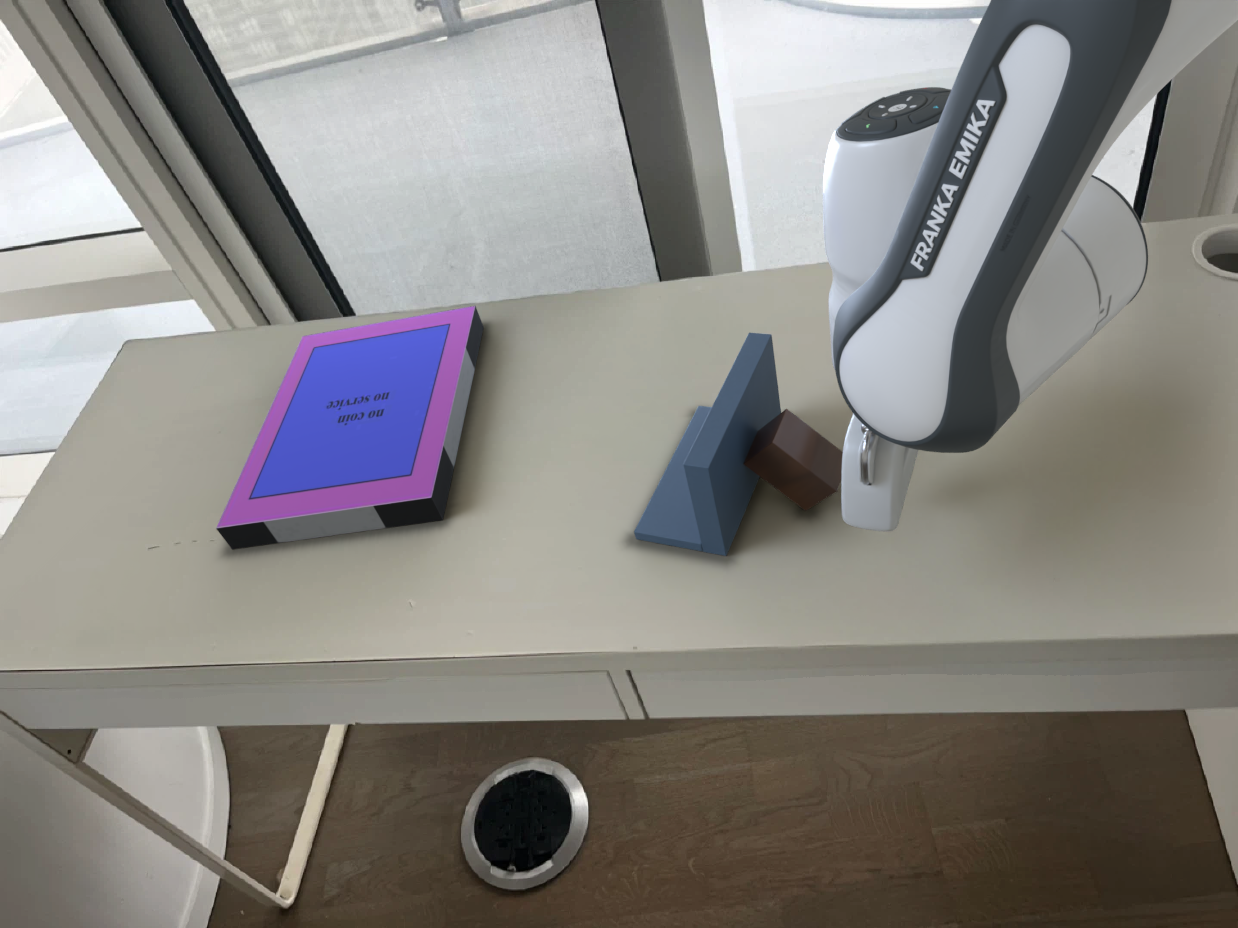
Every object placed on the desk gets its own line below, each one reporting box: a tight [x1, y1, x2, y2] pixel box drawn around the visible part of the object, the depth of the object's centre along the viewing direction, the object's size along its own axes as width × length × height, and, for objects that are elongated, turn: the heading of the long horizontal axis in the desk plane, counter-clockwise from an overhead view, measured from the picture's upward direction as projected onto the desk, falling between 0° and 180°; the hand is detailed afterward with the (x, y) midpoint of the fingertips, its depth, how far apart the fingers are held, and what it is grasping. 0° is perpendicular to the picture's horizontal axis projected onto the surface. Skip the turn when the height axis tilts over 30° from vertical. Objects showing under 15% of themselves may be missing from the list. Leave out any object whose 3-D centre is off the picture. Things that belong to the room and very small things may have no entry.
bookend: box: [633, 332, 782, 557], centre depth 76 cm, size 8×16×10 cm, turn 157°
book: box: [215, 305, 484, 550], centre depth 94 cm, size 21×3×30 cm
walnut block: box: [743, 408, 843, 512], centre depth 74 cm, size 7×4×7 cm, turn 67°
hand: (897, 479), depth 71 cm, fingers closed
